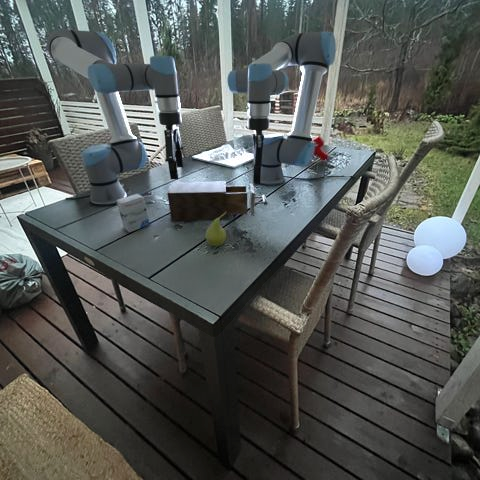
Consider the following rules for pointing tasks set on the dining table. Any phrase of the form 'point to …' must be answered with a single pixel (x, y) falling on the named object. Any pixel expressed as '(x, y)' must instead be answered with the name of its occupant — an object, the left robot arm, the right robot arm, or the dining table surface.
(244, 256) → the dining table surface
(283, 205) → the dining table surface
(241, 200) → the drawer
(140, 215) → the ink box
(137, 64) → the left robot arm
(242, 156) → the relief map
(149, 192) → the dining table surface
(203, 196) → the cabinet
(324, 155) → the toy gun
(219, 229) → the fruit
